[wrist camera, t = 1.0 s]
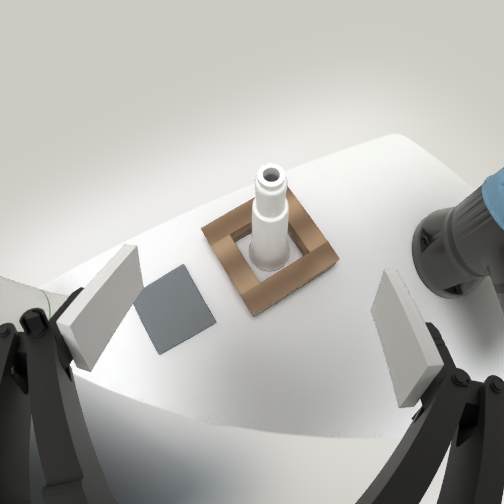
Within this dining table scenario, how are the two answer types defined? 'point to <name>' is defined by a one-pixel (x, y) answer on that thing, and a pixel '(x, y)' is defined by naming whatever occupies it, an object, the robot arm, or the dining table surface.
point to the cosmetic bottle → (270, 219)
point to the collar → (285, 281)
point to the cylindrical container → (25, 301)
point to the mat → (172, 310)
